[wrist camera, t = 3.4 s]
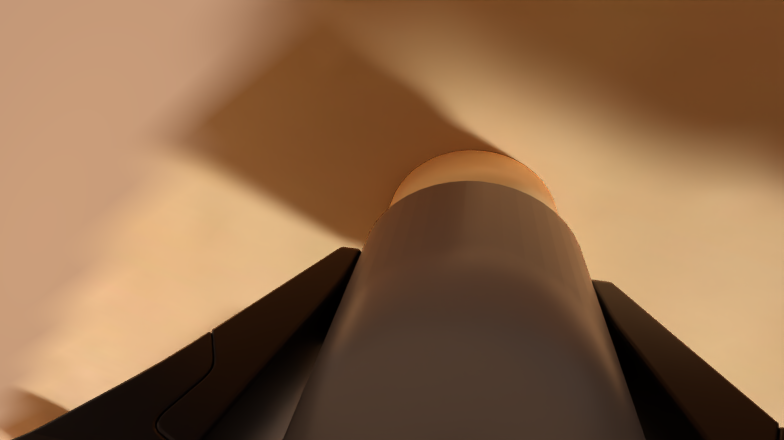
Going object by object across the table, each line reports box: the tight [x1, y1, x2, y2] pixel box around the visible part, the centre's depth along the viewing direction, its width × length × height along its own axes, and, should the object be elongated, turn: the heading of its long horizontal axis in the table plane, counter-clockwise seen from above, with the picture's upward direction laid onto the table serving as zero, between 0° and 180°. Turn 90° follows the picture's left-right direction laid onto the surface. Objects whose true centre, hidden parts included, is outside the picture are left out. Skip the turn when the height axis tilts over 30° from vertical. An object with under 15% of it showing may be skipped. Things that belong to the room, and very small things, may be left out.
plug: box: [283, 150, 646, 440], centre depth 7 cm, size 4×4×8 cm
